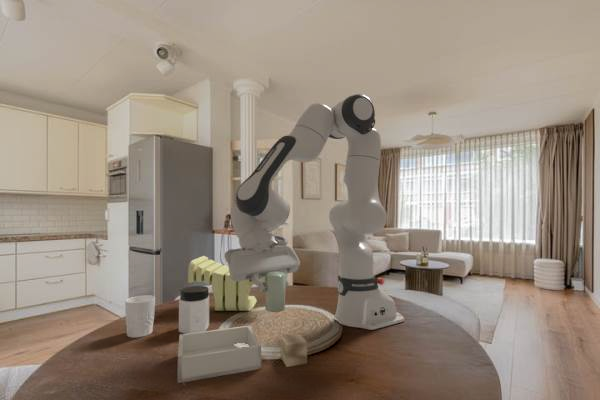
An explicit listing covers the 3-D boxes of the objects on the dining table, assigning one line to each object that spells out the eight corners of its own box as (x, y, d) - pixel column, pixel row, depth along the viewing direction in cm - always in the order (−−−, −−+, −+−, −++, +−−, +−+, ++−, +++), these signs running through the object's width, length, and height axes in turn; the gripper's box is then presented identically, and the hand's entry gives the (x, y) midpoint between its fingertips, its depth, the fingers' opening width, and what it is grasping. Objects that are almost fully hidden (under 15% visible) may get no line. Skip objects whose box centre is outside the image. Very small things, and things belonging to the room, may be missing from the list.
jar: (182, 336, 89) (182, 294, 89) (175, 328, 95) (176, 288, 96) (213, 330, 94) (213, 289, 94) (205, 322, 100) (205, 284, 101)
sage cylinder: (281, 303, 85) (282, 270, 84) (287, 311, 80) (288, 276, 79) (263, 305, 83) (264, 272, 82) (268, 313, 78) (269, 278, 78)
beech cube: (300, 354, 78) (299, 334, 78) (307, 363, 73) (307, 342, 73) (280, 357, 76) (280, 336, 76) (286, 367, 71) (286, 345, 72)
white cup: (159, 333, 92) (159, 298, 92) (130, 341, 86) (130, 304, 86) (148, 326, 97) (149, 293, 97) (120, 333, 91) (121, 299, 91)
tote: (249, 344, 83) (249, 325, 84) (261, 368, 71) (261, 346, 71) (179, 354, 77) (179, 334, 78) (177, 383, 65) (177, 358, 65)
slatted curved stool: (187, 313, 109) (188, 262, 110) (203, 300, 125) (203, 255, 126) (273, 314, 108) (273, 262, 109) (278, 300, 124) (278, 255, 124)
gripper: (225, 242, 82) (241, 287, 74) (291, 237, 93) (311, 275, 85) (219, 257, 85) (234, 302, 77) (283, 250, 97) (302, 288, 89)
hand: (275, 288), depth 81 cm, fingers closed on sage cylinder, 5 cm apart
